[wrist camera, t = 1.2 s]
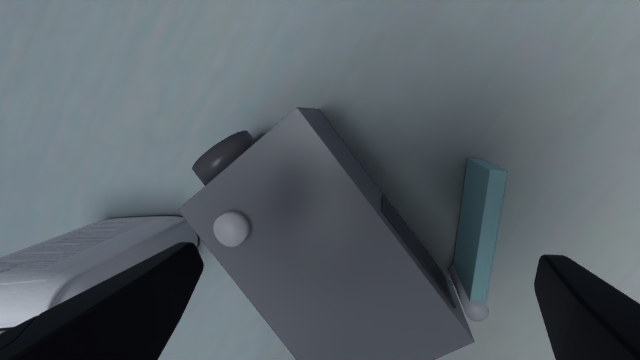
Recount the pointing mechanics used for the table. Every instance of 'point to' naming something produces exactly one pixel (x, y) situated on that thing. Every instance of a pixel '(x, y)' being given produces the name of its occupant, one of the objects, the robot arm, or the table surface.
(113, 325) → the robot arm
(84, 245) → the photo printer
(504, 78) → the table surface
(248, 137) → the box
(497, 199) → the side door
